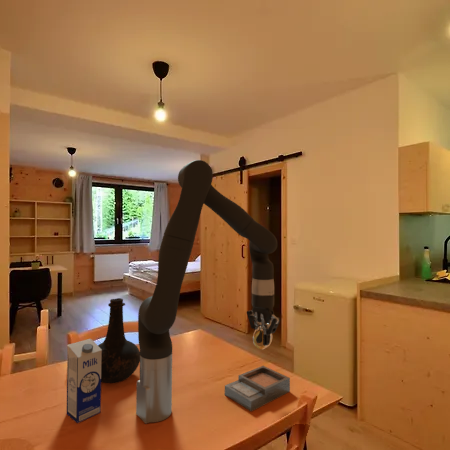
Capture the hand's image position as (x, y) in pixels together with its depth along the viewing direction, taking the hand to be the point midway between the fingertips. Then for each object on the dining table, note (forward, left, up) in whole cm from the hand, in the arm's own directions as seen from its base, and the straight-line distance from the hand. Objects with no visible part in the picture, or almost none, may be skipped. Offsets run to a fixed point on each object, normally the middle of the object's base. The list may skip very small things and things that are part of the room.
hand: (262, 343), depth 106 cm
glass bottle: (-35, +39, -15) cm, 55 cm away
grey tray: (-3, -1, -15) cm, 16 cm away
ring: (0, 0, -2) cm, 2 cm away
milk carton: (-50, +23, -15) cm, 57 cm away
